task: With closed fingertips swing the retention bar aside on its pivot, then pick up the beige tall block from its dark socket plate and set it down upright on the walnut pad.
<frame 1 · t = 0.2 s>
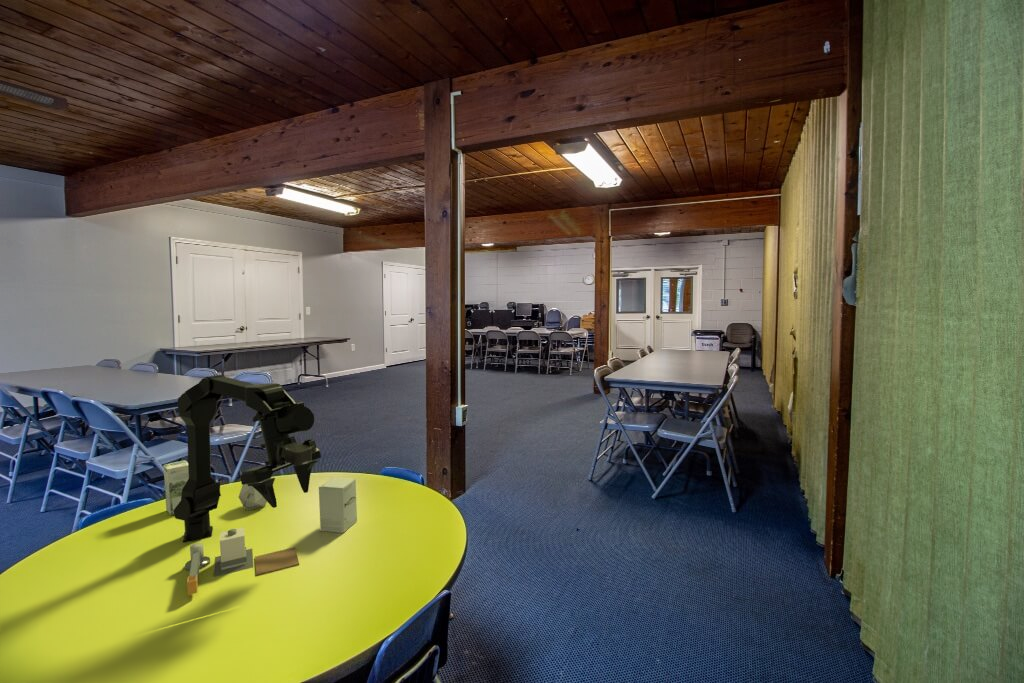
hand: (290, 499, 116), 15 cm above the table, tool pointing down, fingers open, 9 cm apart
walnut pad: (276, 562, 117), on the table
socket plate: (234, 563, 117), on the table
clip base: (197, 565, 115), on the table
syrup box: (179, 511, 147), on the table
beige tall block: (234, 561, 116), resting on socket plate
die: (255, 507, 149), on the table
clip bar: (194, 566, 109), point 3 cm above the table, hinge at 0.0°
supplement box: (339, 526, 135), on the table
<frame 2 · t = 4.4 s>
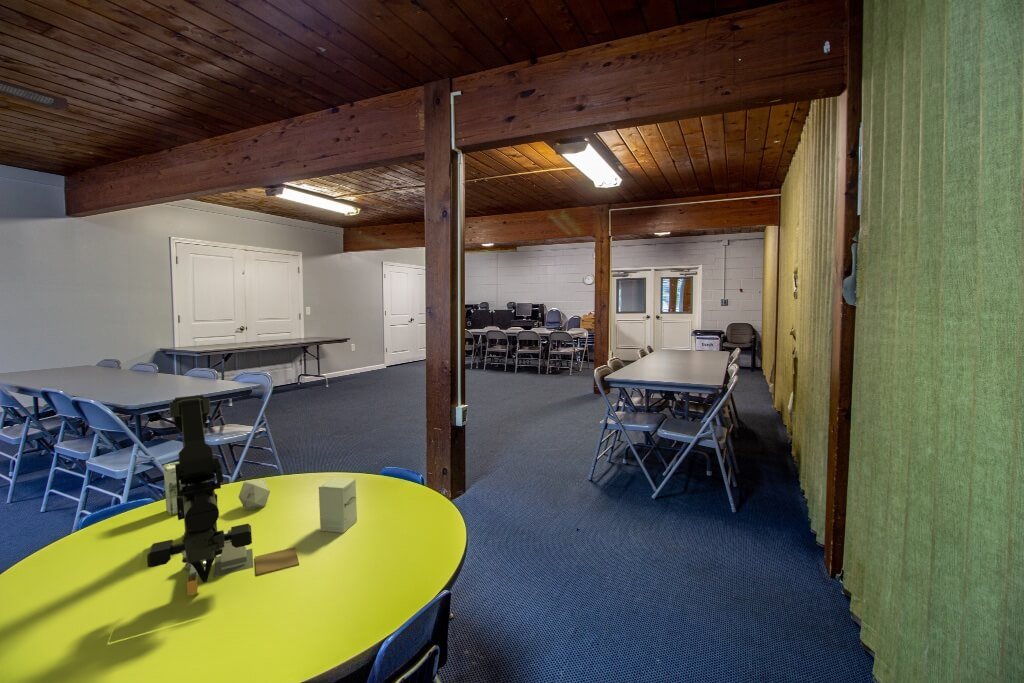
hand: (205, 581, 105), 2 cm above the table, tool pointing down, fingers closed
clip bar: (194, 566, 109), point 3 cm above the table, hinge at 0.0°, touching gripper
everything else where it was.
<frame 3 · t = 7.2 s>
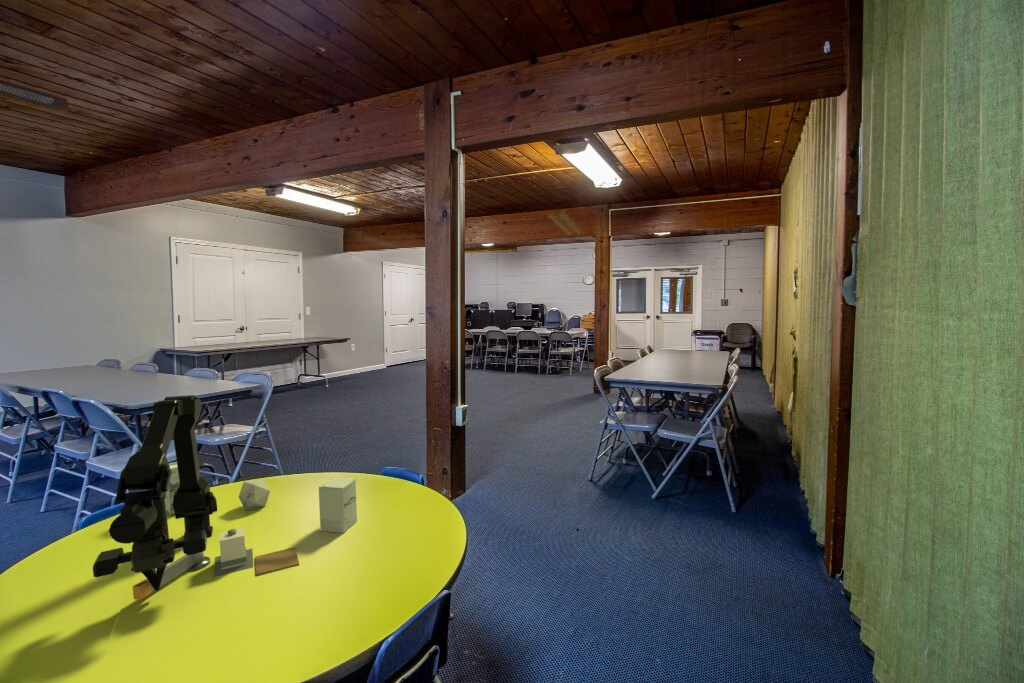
hand: (157, 589, 103), 2 cm above the table, tool pointing down, fingers closed
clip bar: (171, 569, 108), point 3 cm above the table, hinge at -40.7°, touching gripper
everything else where it was.
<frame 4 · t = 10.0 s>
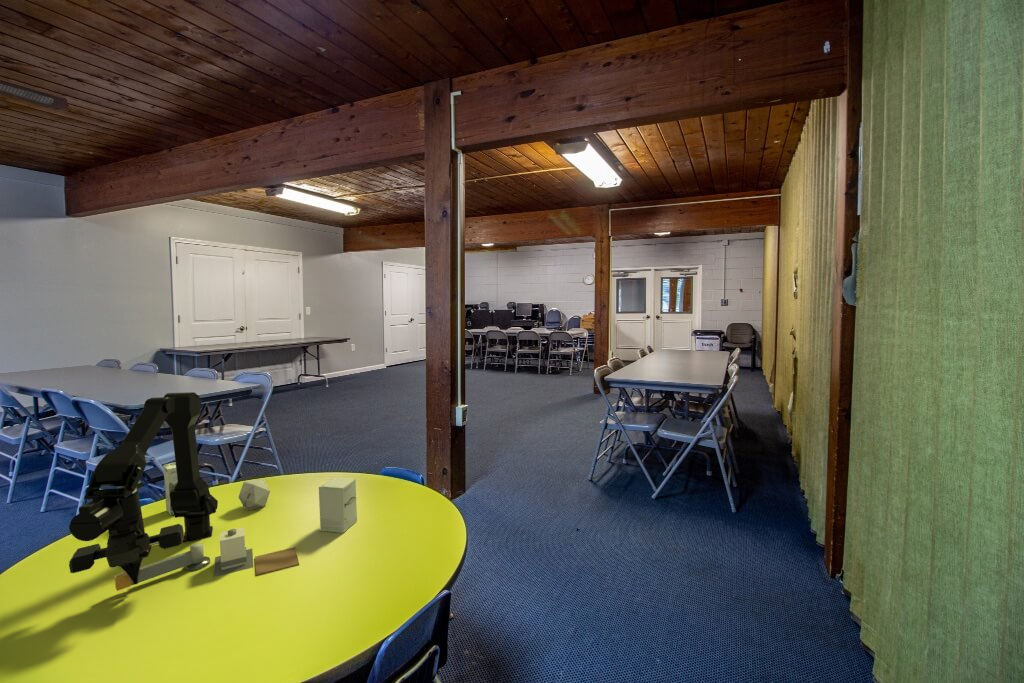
hand: (136, 583, 105), 2 cm above the table, tool pointing down, fingers closed
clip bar: (161, 565, 110), point 3 cm above the table, hinge at -71.7°, touching gripper
everything else where it was.
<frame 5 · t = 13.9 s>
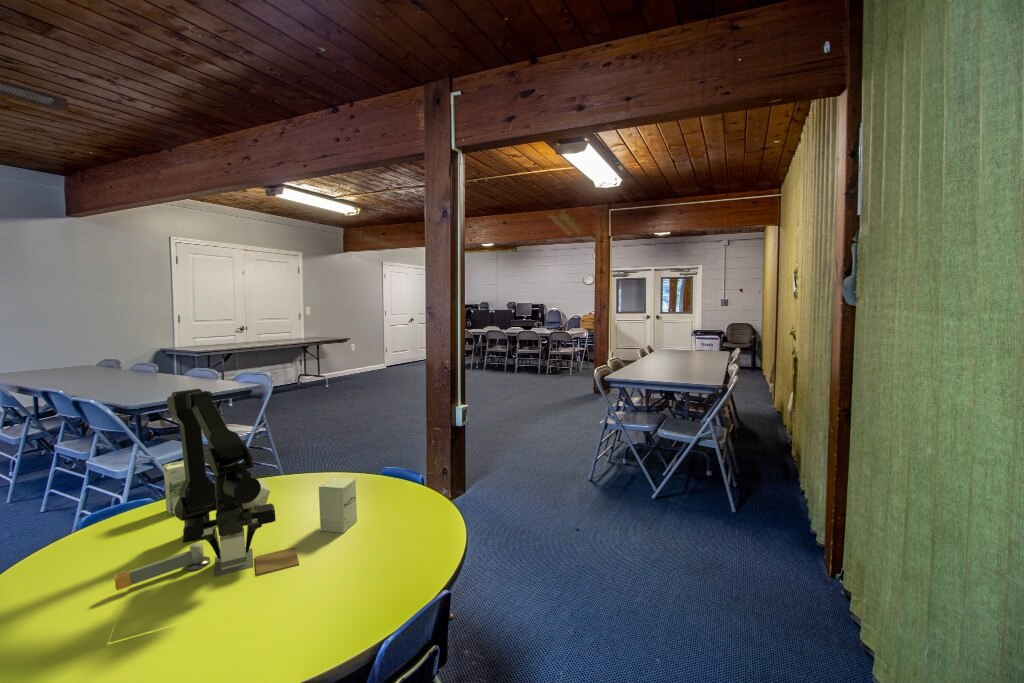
hand: (233, 555, 116), 2 cm above the table, tool pointing down, fingers closed on beige tall block, 5 cm apart
beige tall block: (234, 561, 116), resting on socket plate, touching gripper
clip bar: (161, 565, 110), point 3 cm above the table, hinge at -72.5°
everything else where it was.
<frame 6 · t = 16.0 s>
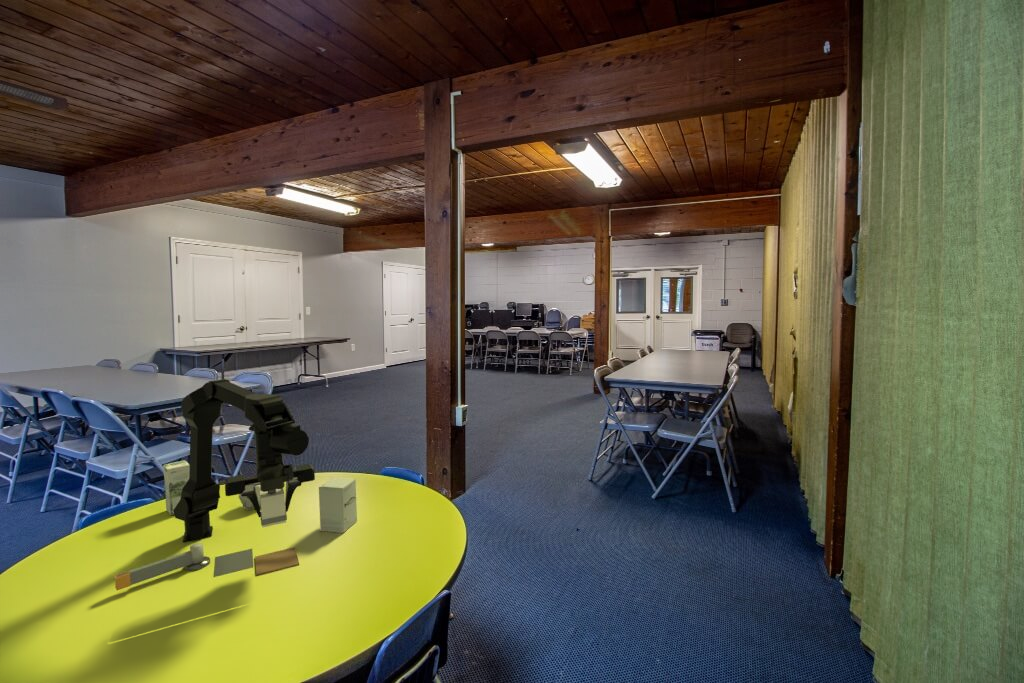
hand: (273, 513, 115), 12 cm above the table, tool pointing down, fingers closed on beige tall block, 5 cm apart
beige tall block: (273, 520, 115), point 10 cm above the table, touching gripper
everything else where it was.
when the fingers open (3 cm above the table, at t = 18.0 s): beige tall block drops 1 cm, resting on walnut pad.
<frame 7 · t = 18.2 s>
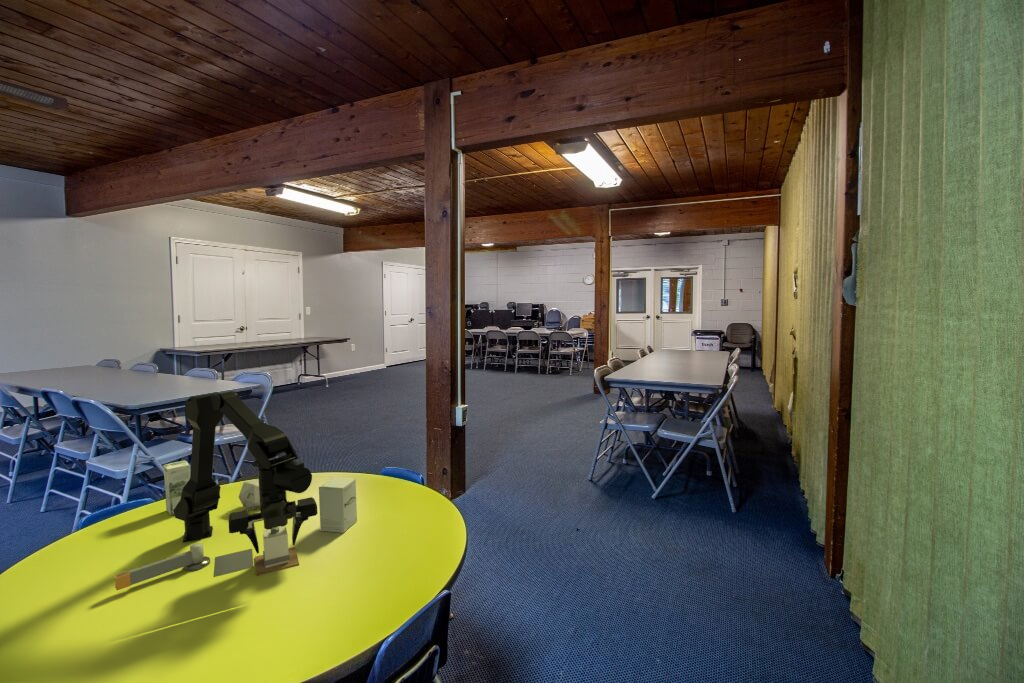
hand: (276, 548, 116), 3 cm above the table, tool pointing down, fingers open, 7 cm apart
beige tall block: (276, 560, 116), point 1 cm above the table, touching walnut pad
everything else where it was.
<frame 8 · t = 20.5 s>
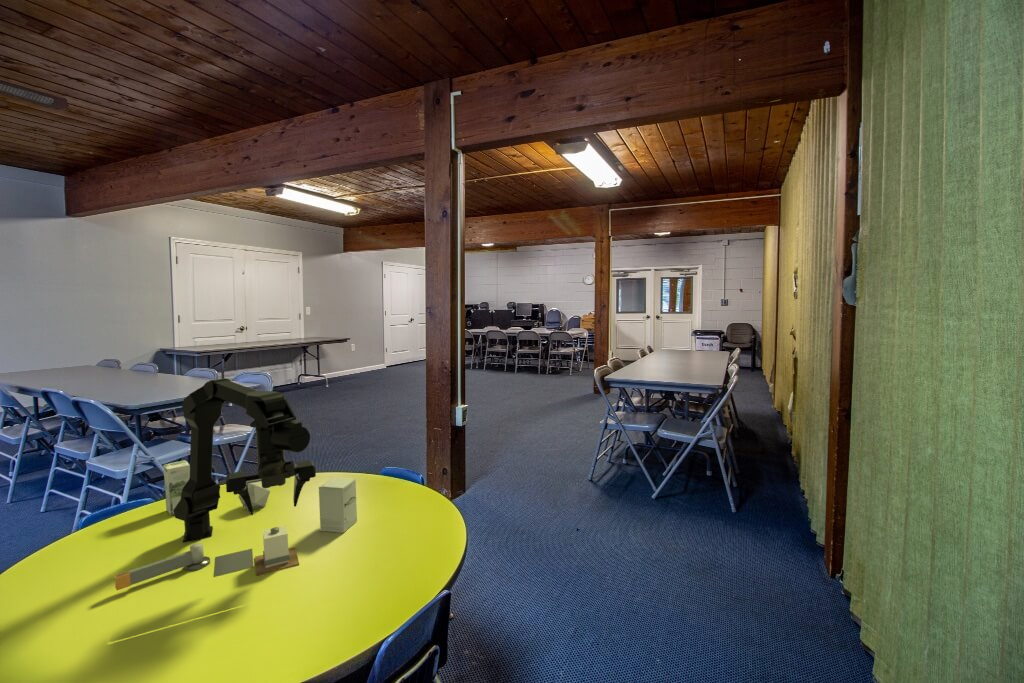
hand: (274, 510, 115), 13 cm above the table, tool pointing down, fingers open, 9 cm apart
nothing on the table moved.
at the end: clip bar at -72° (first picture: +0°); beige tall block inside the target area (0.0 cm from its centre), point 0.6 cm above the table; beige tall block tilted 0° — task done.
